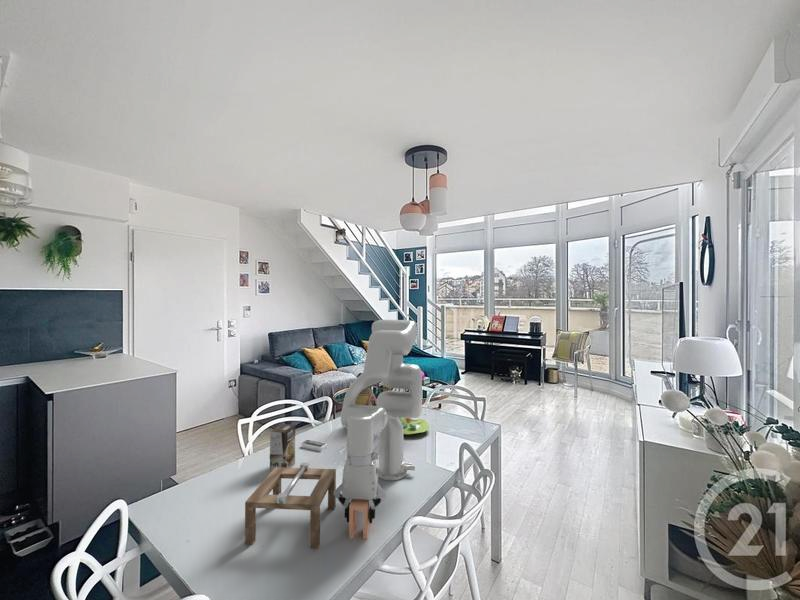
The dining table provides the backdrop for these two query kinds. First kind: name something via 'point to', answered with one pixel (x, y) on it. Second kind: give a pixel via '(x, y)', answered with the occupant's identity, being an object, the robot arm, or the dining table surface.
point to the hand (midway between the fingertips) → (359, 519)
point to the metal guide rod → (292, 484)
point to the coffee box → (282, 446)
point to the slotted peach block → (353, 507)
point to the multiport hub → (314, 445)
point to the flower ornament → (412, 419)
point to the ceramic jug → (366, 397)
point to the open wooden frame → (291, 499)
